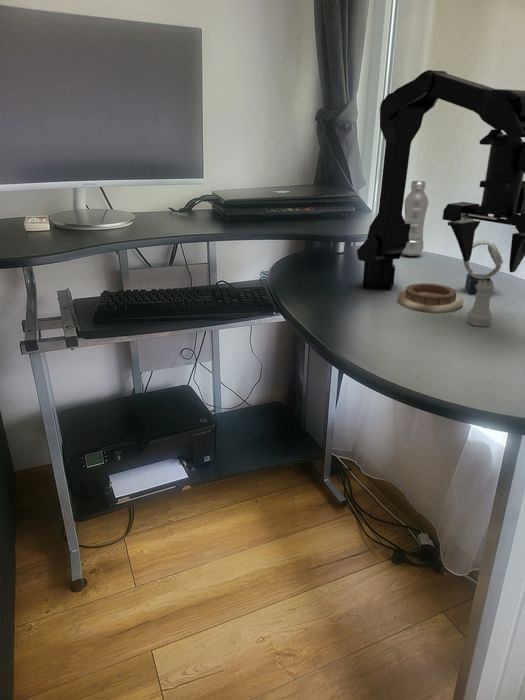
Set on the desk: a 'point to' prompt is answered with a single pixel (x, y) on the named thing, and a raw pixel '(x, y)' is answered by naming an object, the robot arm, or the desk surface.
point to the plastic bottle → (415, 217)
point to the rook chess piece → (481, 305)
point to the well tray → (430, 298)
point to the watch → (474, 278)
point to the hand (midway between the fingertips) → (488, 266)
